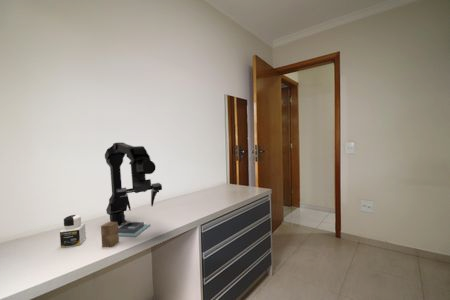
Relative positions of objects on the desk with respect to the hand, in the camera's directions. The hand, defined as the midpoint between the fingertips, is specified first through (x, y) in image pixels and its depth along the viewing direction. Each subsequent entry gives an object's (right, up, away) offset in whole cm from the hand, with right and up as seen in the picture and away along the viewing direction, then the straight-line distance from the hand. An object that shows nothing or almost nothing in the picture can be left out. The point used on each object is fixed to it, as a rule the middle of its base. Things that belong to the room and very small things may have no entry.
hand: (141, 208), depth 93 cm
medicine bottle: (-29, -15, -2) cm, 33 cm away
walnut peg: (-11, -14, -5) cm, 19 cm away
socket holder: (-8, -14, +9) cm, 18 cm away
